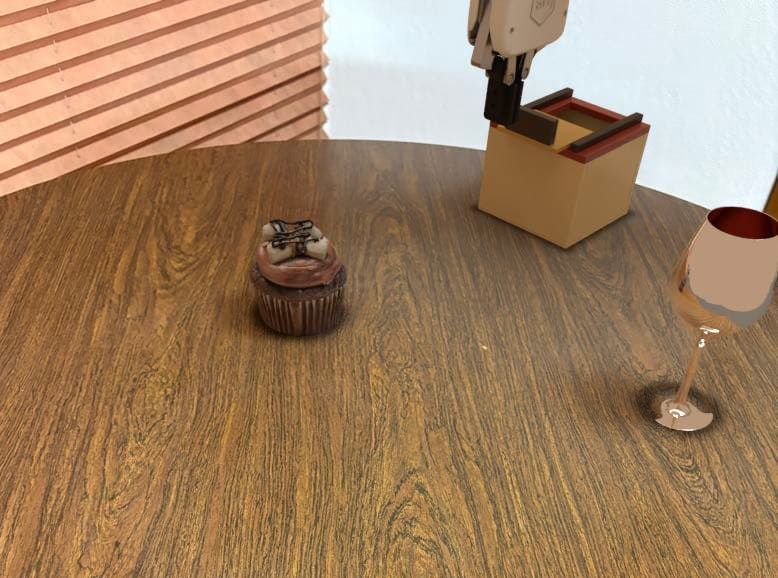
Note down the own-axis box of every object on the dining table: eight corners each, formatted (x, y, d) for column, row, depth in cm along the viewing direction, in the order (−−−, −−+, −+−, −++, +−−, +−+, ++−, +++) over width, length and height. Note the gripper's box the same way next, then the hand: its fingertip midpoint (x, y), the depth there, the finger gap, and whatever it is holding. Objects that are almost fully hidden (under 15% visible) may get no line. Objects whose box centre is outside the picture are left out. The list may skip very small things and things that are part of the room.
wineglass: (621, 421, 78) (679, 231, 65) (643, 375, 83) (701, 191, 70) (712, 449, 75) (792, 257, 62) (729, 400, 81) (805, 214, 68)
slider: (534, 113, 98) (539, 85, 96) (593, 136, 94) (599, 107, 92) (496, 130, 94) (500, 101, 92) (555, 154, 91) (561, 124, 88)
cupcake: (360, 335, 85) (364, 241, 78) (266, 351, 83) (260, 255, 75) (330, 285, 91) (331, 193, 84) (241, 299, 89) (234, 206, 81)
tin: (540, 179, 111) (558, 83, 102) (626, 216, 105) (653, 117, 97) (477, 211, 104) (491, 111, 96) (564, 251, 98) (587, 149, 90)
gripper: (515, -80, 68) (482, 153, 82) (618, -103, 76) (572, 113, 89) (443, -99, 72) (423, 128, 85) (549, -119, 79) (515, 92, 93)
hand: (500, 120), depth 87 cm, fingers closed
